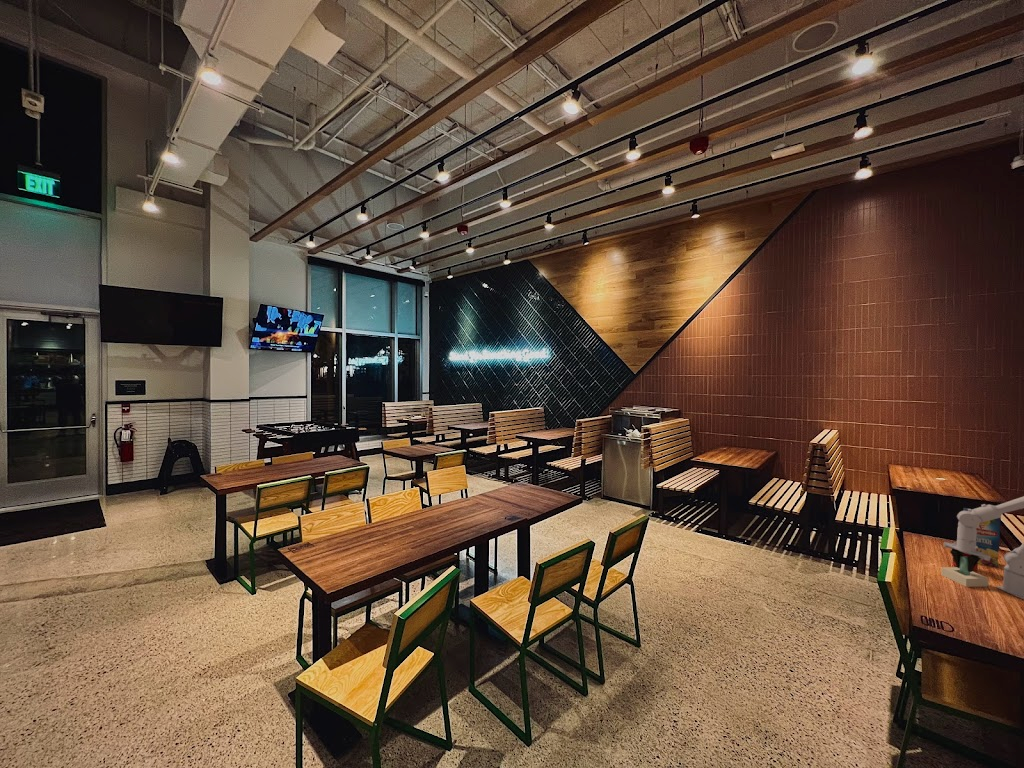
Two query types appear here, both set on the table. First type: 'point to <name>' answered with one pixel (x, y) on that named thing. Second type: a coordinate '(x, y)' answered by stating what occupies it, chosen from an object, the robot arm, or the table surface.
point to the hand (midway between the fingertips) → (964, 569)
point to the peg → (964, 566)
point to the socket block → (964, 577)
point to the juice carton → (988, 540)
